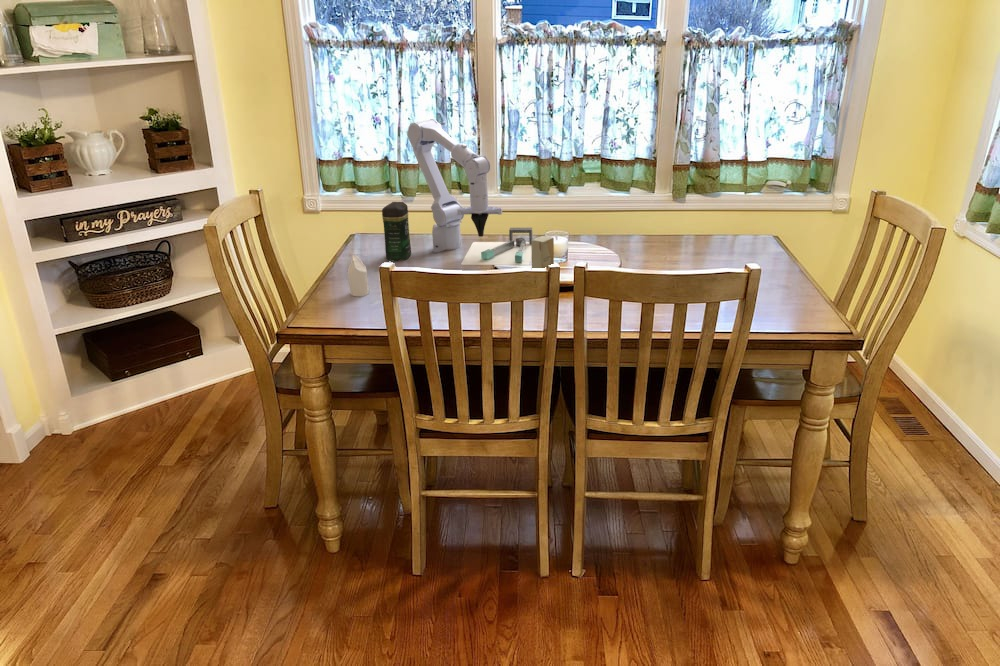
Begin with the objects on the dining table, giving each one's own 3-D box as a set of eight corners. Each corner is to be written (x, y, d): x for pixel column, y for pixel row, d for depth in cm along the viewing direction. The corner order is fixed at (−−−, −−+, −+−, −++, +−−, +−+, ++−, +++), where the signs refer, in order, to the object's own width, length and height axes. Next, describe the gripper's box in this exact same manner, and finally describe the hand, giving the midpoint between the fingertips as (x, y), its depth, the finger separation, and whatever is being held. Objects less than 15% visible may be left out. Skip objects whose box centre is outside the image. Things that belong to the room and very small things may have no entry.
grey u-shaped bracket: (510, 241, 273) (510, 227, 271) (532, 241, 272) (532, 227, 270) (509, 243, 271) (509, 230, 269) (531, 243, 270) (531, 230, 268)
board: (461, 268, 253) (460, 264, 252) (473, 245, 276) (473, 241, 275) (529, 268, 250) (529, 264, 249) (536, 245, 273) (536, 241, 272)
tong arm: (510, 245, 269) (510, 239, 268) (515, 246, 267) (515, 240, 267) (481, 258, 256) (481, 252, 256) (486, 259, 255) (486, 253, 254)
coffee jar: (406, 262, 261) (401, 207, 254) (383, 261, 262) (378, 207, 255) (414, 253, 270) (409, 199, 262) (392, 253, 271) (387, 199, 264)
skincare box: (543, 281, 238) (542, 242, 234) (531, 278, 241) (530, 240, 236) (554, 275, 243) (554, 236, 238) (543, 272, 246) (542, 234, 241)
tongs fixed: (516, 244, 271) (516, 237, 270) (528, 244, 270) (527, 237, 269) (509, 262, 252) (509, 255, 251) (522, 262, 252) (521, 255, 251)
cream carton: (361, 257, 227) (342, 258, 228) (366, 296, 232) (347, 296, 233) (367, 251, 233) (348, 251, 233) (371, 289, 238) (353, 289, 238)
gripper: (454, 198, 252) (457, 239, 258) (499, 197, 250) (501, 239, 256) (458, 193, 259) (461, 233, 264) (502, 192, 257) (503, 232, 262)
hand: (481, 235), depth 260 cm, fingers closed
